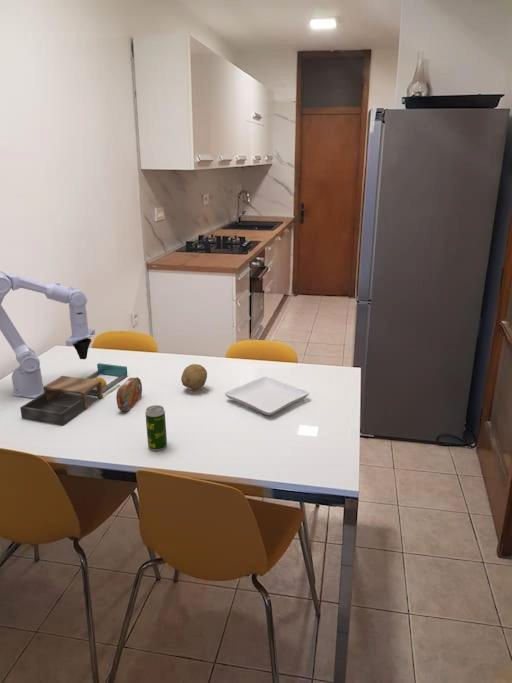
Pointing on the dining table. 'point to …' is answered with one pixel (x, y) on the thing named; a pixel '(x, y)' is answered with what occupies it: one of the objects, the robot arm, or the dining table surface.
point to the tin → (129, 394)
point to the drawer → (109, 370)
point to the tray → (55, 413)
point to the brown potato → (194, 377)
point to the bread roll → (101, 381)
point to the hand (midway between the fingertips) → (83, 358)
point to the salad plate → (266, 395)
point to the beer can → (156, 428)
